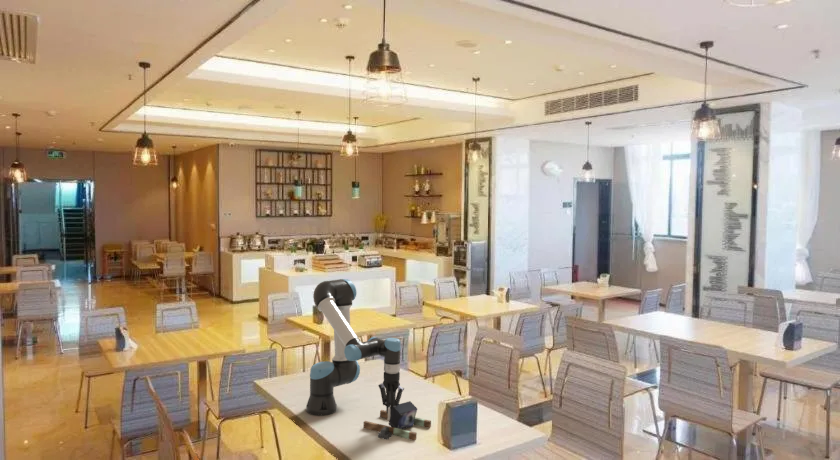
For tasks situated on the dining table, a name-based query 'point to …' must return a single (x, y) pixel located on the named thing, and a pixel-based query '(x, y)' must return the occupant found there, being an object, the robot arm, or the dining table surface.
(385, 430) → the fulcrum
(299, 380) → the dining table surface
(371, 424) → the beam slot
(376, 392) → the dining table surface
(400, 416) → the small box
